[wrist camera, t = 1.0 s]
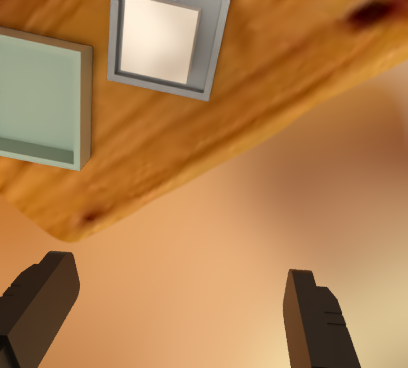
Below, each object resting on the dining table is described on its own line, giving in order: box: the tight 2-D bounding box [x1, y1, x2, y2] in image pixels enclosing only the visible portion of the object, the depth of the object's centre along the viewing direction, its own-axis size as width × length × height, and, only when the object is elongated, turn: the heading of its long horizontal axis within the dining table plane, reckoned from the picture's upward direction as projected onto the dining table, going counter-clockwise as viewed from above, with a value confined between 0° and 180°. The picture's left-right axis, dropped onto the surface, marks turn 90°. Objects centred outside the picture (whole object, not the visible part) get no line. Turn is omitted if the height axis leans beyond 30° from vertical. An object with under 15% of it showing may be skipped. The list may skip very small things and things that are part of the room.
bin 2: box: [107, 0, 230, 101], centre depth 27 cm, size 9×9×2 cm
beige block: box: [121, 0, 202, 84], centre depth 25 cm, size 5×5×5 cm
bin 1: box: [0, 26, 93, 171], centre depth 30 cm, size 11×11×3 cm
